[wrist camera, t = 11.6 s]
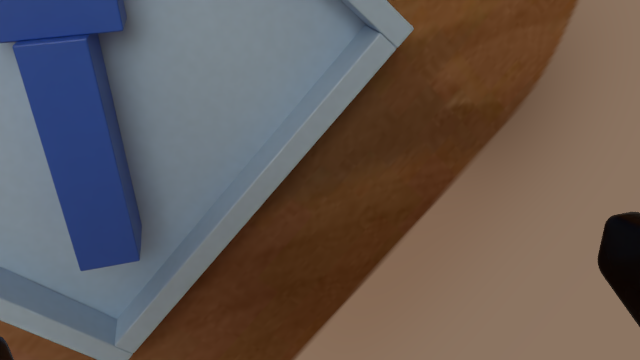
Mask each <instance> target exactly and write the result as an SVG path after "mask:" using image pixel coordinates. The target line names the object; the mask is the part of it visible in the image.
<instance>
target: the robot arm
mask: <svg viewBox="0 0 640 360" xmlns="http://www.w3.org/2000/svg"><path fill="white" fill-rule="evenodd" d="M598 265H599V269H600V271H601V273H602V274H603V276H604V277H605V279H606V280H607V282H608V283H609V285H610V286H611V287H612V289H613V290H614V291H615V293H616V294H617V296H618V297H619V299H620V300H621V301H622V303H623V304H624V306H625V307H626V308H627V310H628V311H629V313H630V314H631V315H632V317H633V318H634V320H635V321H636V322H637V324H638V325H639V327H640V213H639V212H629V213H623V214H618V215H614V216H611V217H610V218H609V219H608V220H607V221H606V224H605V227H604V232H603V236H602V241H601V245H600V250H599V254H598ZM0 360H14V359H13V357H12V354H11V352H10V349H9V347H8V345H7V343H6V341H5V340H4V339H3V338H2V337H0Z"/></svg>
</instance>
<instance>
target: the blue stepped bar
mask: <svg viewBox="0 0 640 360" xmlns="http://www.w3.org/2000/svg"><path fill="white" fill-rule="evenodd" d="M126 20H127V16H126V11H125V6H124V1H123V0H0V43H8V42H16V43H15V44H14V45H13V47H12V48H13V51H14V54H15V58H16V61H17V64H18V67H19V71H20V74H21V77H22V81H23V84H24V87H25V90H26V94H27V97H28V100H29V104H30V107H31V110H32V114H33V117H34V120H35V123H36V127H37V130H38V133H39V137H40V140H41V143H42V146H43V150H44V153H45V156H46V160H47V163H48V166H49V170H50V173H51V176H52V179H53V183H54V186H55V189H56V193H57V196H58V199H59V203H60V206H61V209H62V212H63V216H64V219H65V222H66V226H67V229H68V232H69V235H70V239H71V242H72V245H73V249H74V252H75V255H76V259H77V262H78V265H79V268H80V271H86V270H92V269H97V268H103V267H108V266H114V265H119V264H125V263H131V262H136V261H139V260H140V251H141V234H142V224H141V219H140V215H139V211H138V206H137V202H136V198H135V193H134V189H133V185H132V180H131V176H130V171H129V167H128V163H127V158H126V154H125V150H124V145H123V141H122V137H121V132H120V128H119V124H118V119H117V115H116V111H115V106H114V102H113V98H112V93H111V89H110V85H109V80H108V76H107V72H106V67H105V63H104V59H103V54H102V50H101V45H100V41H99V37H98V34H99V33H109V32H120V31H123V30H124V26H125V23H126Z"/></svg>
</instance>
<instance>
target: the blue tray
mask: <svg viewBox="0 0 640 360" xmlns="http://www.w3.org/2000/svg"><path fill="white" fill-rule="evenodd" d="M123 1H124V6H125V11H126V16H127V20H126V23H125V26H124V30H123V31H120V32H109V33H99V34H98V37H99V41H100V45H101V50H102V54H103V59H104V63H105V67H106V72H107V76H108V80H109V85H110V89H111V93H112V98H113V102H114V106H115V111H116V115H117V119H118V124H119V128H120V132H121V137H122V141H123V145H124V150H125V154H126V158H127V163H128V167H129V171H130V176H131V180H132V185H133V189H134V193H135V198H136V202H137V206H138V211H139V215H140V219H141V224H142V234H141V251H140V260H139V261H136V262H131V263H125V264H119V265H114V266H108V267H103V268H97V269H92V270H86V271H80V268H79V265H78V262H77V259H76V255H75V252H74V249H73V245H72V242H71V239H70V235H69V232H68V229H67V226H66V222H65V219H64V216H63V212H62V209H61V206H60V203H59V199H58V196H57V193H56V189H55V186H54V183H53V179H52V176H51V173H50V170H49V166H48V163H47V160H46V156H45V153H44V150H43V146H42V143H41V140H40V137H39V133H38V130H37V127H36V123H35V120H34V117H33V114H32V110H31V107H30V104H29V100H28V97H27V94H26V90H25V87H24V84H23V81H22V77H21V74H20V71H19V67H18V64H17V61H16V58H15V54H14V51H13V48H12V47H13V45H14V44H15V43H16V42H8V43H0V320H1V321H3V322H6V323H8V324H11V325H13V326H16V327H18V328H21V329H23V330H26V331H28V332H31V333H33V334H35V335H38V336H40V337H43V338H45V339H48V340H50V341H53V342H55V343H58V344H60V345H63V346H65V347H68V348H70V349H72V350H75V351H77V352H80V353H82V354H85V355H87V356H90V357H92V358H95V359H97V360H128V359H129V358H130V357H131V356H132V355H133V353H134V352H135V351H136V350H137V349H138V348H139V347H140V345H141V344H142V343H143V342H144V341H145V340H146V339H147V337H148V336H149V335H150V334H151V333H152V332H153V330H154V329H155V328H156V327H157V326H158V325H159V323H160V322H161V321H162V320H163V319H164V318H165V317H166V315H167V314H168V313H169V312H170V311H171V310H172V308H173V307H174V306H175V305H176V304H177V303H178V302H179V300H180V299H181V298H182V297H183V296H184V295H185V293H186V292H187V291H188V290H189V289H190V288H191V286H192V285H193V284H194V283H195V282H196V281H197V280H198V278H199V277H200V276H201V275H202V274H203V273H204V271H205V270H206V269H207V268H208V267H209V266H210V264H211V263H212V262H213V261H214V260H215V259H216V258H217V256H218V255H219V254H220V253H221V252H222V251H223V249H224V248H225V247H226V246H227V245H228V244H229V242H230V241H231V240H232V239H233V238H234V237H235V236H236V234H237V233H238V232H239V231H240V230H241V229H242V227H243V226H244V225H245V224H246V223H247V222H248V220H249V219H250V218H251V217H252V216H253V215H254V214H255V212H256V211H257V210H258V209H259V208H260V207H261V205H262V204H263V203H264V202H265V201H266V200H267V198H268V197H269V196H270V195H271V194H272V193H273V192H274V190H275V189H276V188H277V187H278V186H279V185H280V183H281V182H282V181H283V180H284V179H285V178H286V177H287V175H288V174H289V173H290V172H291V171H292V170H293V168H294V167H295V166H296V165H297V164H298V163H299V161H300V160H301V159H302V158H303V157H304V156H305V155H306V153H307V152H308V151H309V150H310V149H311V148H312V146H313V145H314V144H315V143H316V142H317V141H318V139H319V138H320V137H321V136H322V135H323V134H324V133H325V131H326V130H327V129H328V128H329V127H330V126H331V124H332V123H333V122H334V121H335V120H336V119H337V117H338V116H339V115H340V114H341V113H342V112H343V111H344V109H345V108H346V107H347V106H348V105H349V104H350V102H351V101H352V100H353V99H354V98H355V97H356V95H357V94H358V93H359V92H360V91H361V90H362V89H363V87H364V86H365V85H366V84H367V83H368V82H369V80H370V79H371V78H372V77H373V76H374V75H375V73H376V72H377V71H378V70H379V69H380V68H381V67H382V65H383V64H384V63H385V62H386V61H387V60H388V58H389V57H390V56H391V55H392V54H393V53H394V52H395V50H396V48H398V47H399V46H400V45H401V43H402V42H403V41H404V40H405V39H406V38H407V37H408V35H409V34H410V33H411V32H412V31H413V29H414V28H413V27H412V26H411V25H410V24H409V23H408V22H407V21H406V20H405V19H404V17H403V16H402V15H401V14H400V13H399V12H398V11H397V10H396V9H395V8H394V7H393V6H392V5H391V4H390V3H389V2H388V1H387V0H123Z"/></svg>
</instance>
